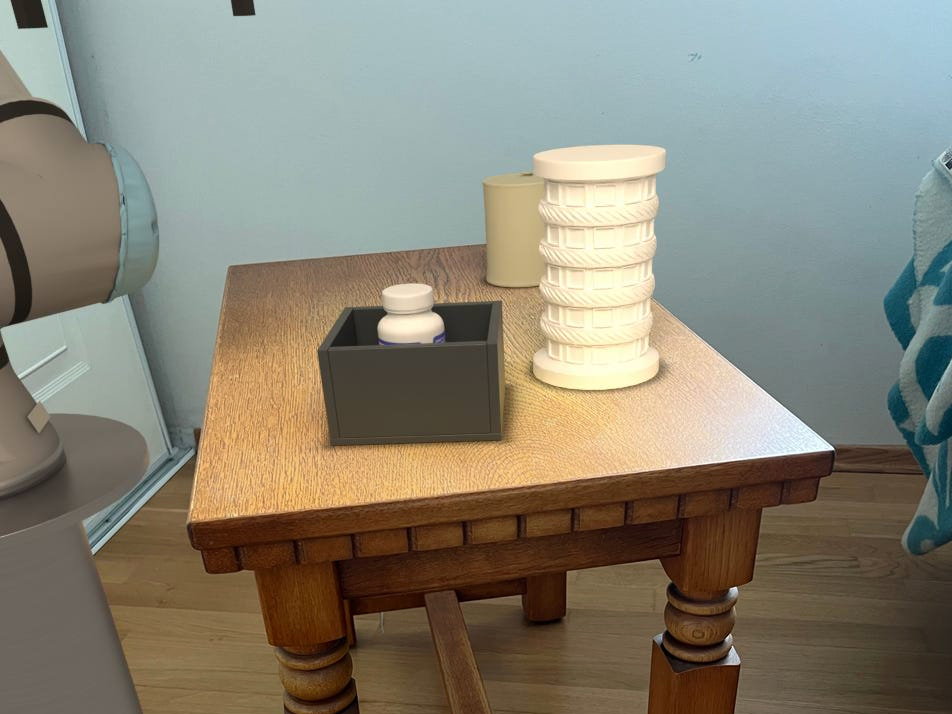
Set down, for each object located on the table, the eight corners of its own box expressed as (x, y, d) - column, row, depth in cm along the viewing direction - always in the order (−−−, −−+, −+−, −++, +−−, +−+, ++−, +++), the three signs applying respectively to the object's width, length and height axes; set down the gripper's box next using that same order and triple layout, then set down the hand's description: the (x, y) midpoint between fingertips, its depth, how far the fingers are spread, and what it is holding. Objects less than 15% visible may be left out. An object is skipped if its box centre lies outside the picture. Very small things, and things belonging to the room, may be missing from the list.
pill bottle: (429, 393, 82) (419, 277, 77) (462, 409, 78) (454, 288, 73) (374, 407, 80) (360, 289, 74) (406, 425, 76) (393, 301, 71)
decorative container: (669, 386, 82) (683, 157, 72) (537, 393, 82) (533, 166, 72) (647, 347, 92) (657, 140, 82) (529, 354, 92) (525, 148, 82)
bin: (331, 445, 75) (316, 350, 70) (355, 393, 85) (344, 307, 81) (501, 440, 74) (497, 343, 70) (505, 387, 84) (502, 300, 80)
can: (566, 271, 121) (566, 167, 114) (549, 288, 114) (548, 179, 107) (498, 269, 124) (494, 169, 117) (477, 286, 116) (471, 180, 110)
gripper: (292, -472, 50) (343, 10, 61) (-161, -432, 51) (-25, 32, 63) (259, -542, 43) (324, 10, 55) (-255, -494, 45) (-85, 34, 57)
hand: (138, 23), depth 59 cm, fingers open, 13 cm apart
